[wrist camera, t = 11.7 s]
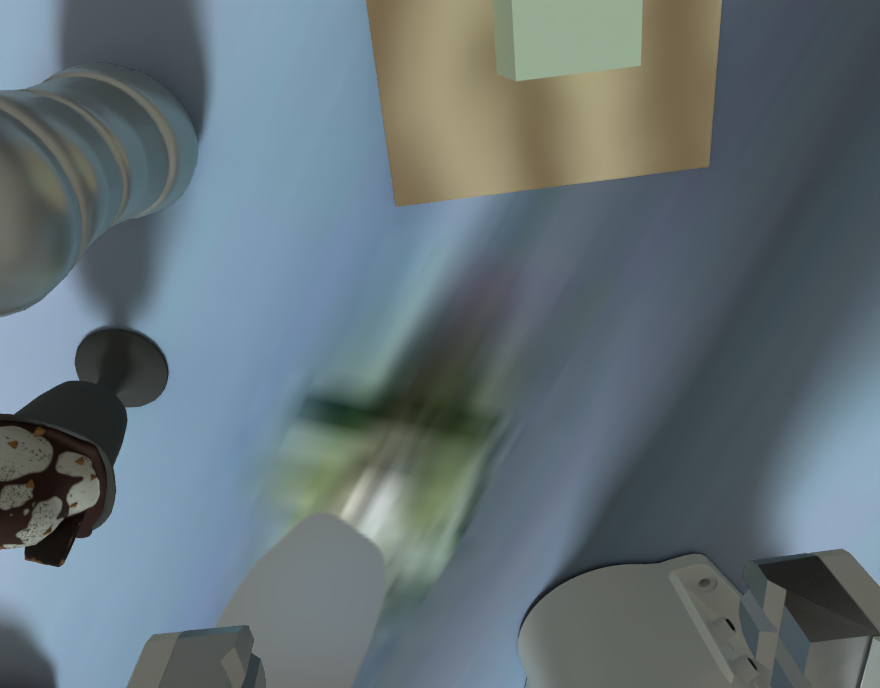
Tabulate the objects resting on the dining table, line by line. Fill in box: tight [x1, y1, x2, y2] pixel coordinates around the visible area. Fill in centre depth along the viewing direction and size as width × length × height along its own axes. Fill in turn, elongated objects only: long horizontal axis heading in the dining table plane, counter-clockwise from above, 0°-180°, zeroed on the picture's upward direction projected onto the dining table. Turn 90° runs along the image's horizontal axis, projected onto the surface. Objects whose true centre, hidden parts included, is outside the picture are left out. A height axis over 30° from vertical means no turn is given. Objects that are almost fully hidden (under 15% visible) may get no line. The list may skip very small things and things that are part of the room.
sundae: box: [0, 330, 168, 567], centre depth 29 cm, size 7×7×15 cm
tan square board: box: [366, 0, 722, 207], centre depth 29 cm, size 16×16×1 cm
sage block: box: [492, 0, 643, 81], centre depth 26 cm, size 5×5×5 cm
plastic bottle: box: [0, 62, 198, 317], centre depth 22 cm, size 6×7×20 cm
